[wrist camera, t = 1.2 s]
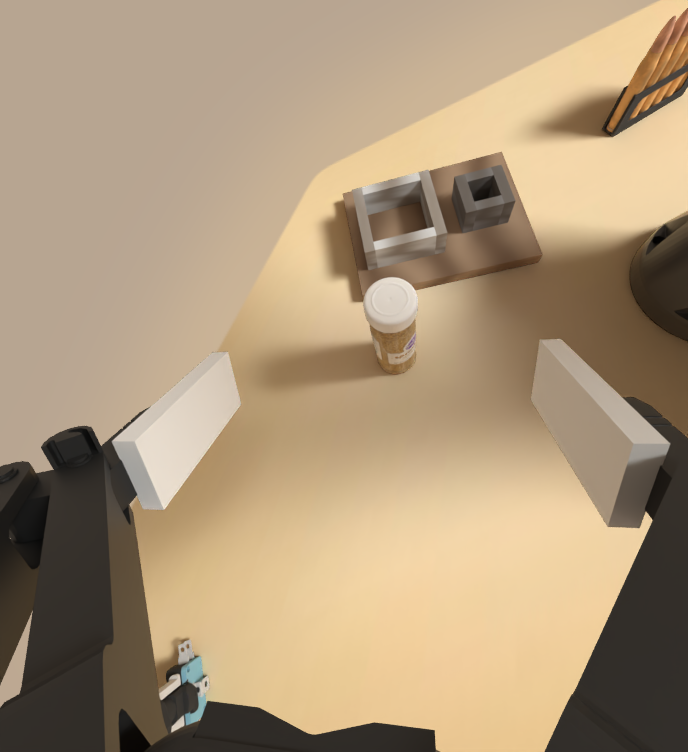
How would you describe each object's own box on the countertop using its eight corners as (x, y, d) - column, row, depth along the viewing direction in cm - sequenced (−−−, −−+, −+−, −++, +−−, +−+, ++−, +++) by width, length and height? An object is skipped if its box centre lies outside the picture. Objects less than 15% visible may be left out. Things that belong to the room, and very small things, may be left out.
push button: (167, 644, 38) (87, 693, 29) (215, 631, 38) (149, 677, 28) (174, 723, 36) (89, 805, 26) (225, 711, 35) (157, 788, 26)
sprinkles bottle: (409, 379, 42) (408, 329, 29) (371, 368, 43) (355, 317, 31) (421, 343, 43) (424, 280, 30) (383, 334, 44) (372, 270, 32)
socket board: (499, 161, 49) (508, 126, 44) (538, 262, 44) (553, 234, 39) (344, 201, 51) (337, 172, 47) (364, 301, 46) (358, 279, 41)
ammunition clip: (611, 137, 47) (674, 25, 36) (601, 129, 48) (659, 16, 36) (683, 94, 47) (768, -31, 36) (671, 87, 48) (751, -39, 36)
